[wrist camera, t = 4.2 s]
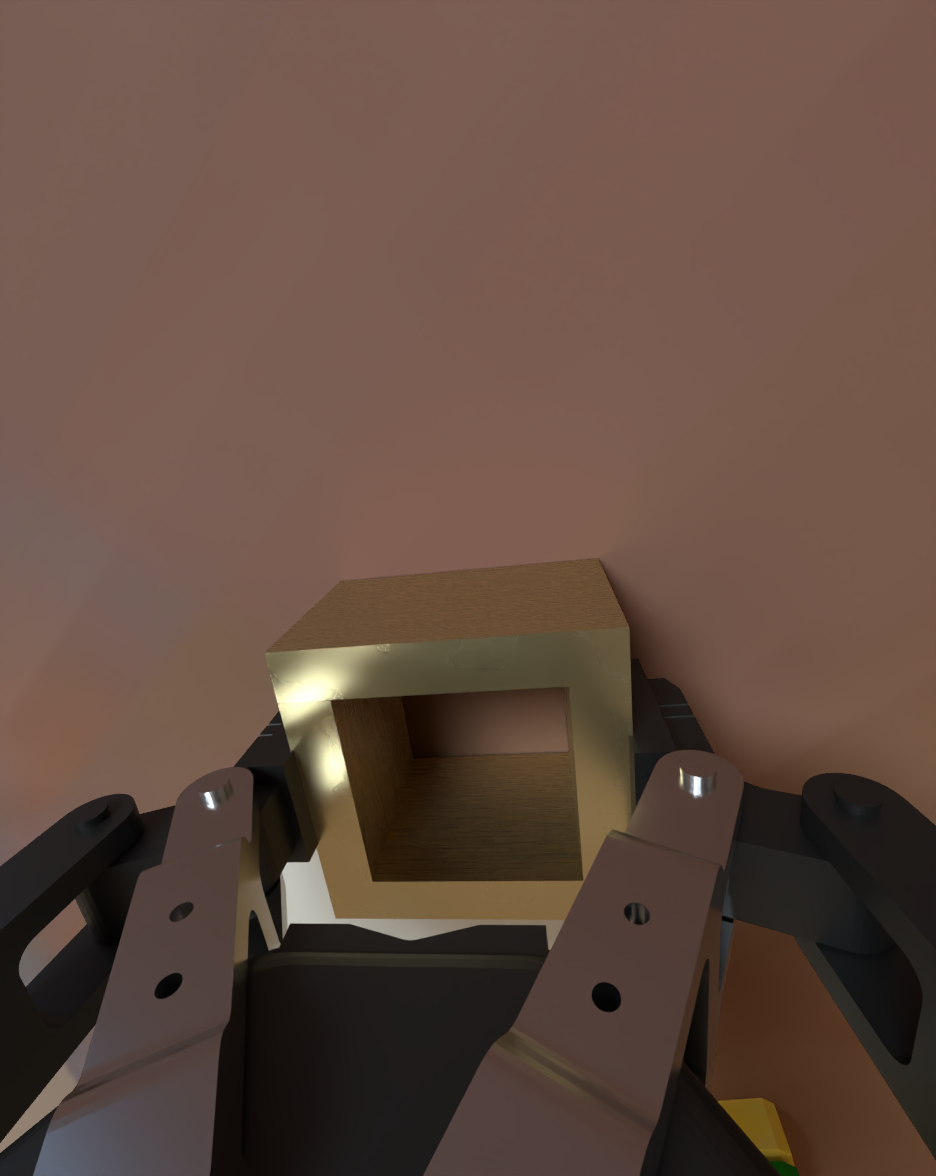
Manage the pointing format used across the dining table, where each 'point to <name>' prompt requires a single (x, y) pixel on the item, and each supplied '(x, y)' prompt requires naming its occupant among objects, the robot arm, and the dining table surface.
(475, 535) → the dining table surface
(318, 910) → the post board
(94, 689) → the dining table surface
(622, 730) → the collar
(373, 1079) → the robot arm
